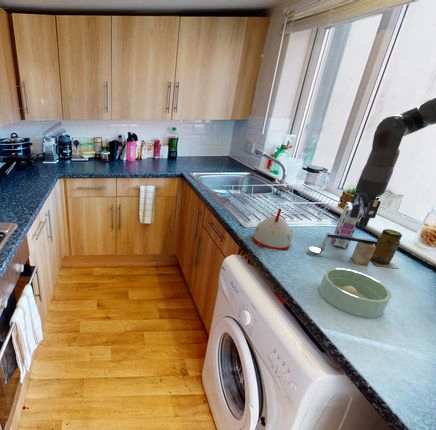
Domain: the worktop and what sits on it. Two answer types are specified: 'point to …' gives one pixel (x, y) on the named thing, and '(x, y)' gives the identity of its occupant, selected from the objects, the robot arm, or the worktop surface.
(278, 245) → the cream dome hat
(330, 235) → the ladle
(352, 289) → the dumpling
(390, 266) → the condiment
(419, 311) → the worktop surface
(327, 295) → the bowl
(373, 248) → the brown wooden block
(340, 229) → the candy bar box
